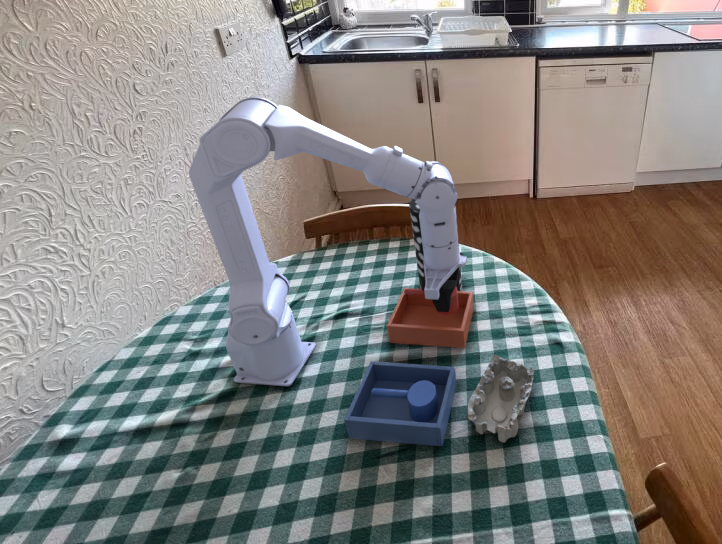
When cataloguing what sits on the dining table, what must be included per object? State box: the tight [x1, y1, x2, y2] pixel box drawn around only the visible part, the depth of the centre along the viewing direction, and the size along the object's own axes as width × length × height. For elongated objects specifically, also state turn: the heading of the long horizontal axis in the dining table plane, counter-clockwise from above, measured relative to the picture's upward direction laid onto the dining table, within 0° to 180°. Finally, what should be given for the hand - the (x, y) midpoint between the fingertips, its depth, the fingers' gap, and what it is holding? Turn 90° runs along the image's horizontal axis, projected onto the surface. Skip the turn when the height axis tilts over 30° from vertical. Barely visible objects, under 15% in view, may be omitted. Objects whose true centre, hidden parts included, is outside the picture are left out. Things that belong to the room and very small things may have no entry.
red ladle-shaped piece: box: [403, 286, 459, 315], centre depth 72 cm, size 10×4×4 cm, turn 85°
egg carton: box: [467, 354, 535, 444], centre depth 60 cm, size 11×8×4 cm
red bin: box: [386, 287, 475, 349], centre depth 74 cm, size 13×9×4 cm
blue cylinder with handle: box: [371, 380, 438, 422], centre depth 60 cm, size 10×4×4 cm, turn 85°
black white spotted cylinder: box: [408, 199, 463, 291], centre depth 79 cm, size 8×8×20 cm
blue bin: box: [343, 360, 457, 447], centre depth 60 cm, size 13×9×4 cm
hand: (446, 300), depth 72 cm, fingers closed on red ladle-shaped piece, 4 cm apart
